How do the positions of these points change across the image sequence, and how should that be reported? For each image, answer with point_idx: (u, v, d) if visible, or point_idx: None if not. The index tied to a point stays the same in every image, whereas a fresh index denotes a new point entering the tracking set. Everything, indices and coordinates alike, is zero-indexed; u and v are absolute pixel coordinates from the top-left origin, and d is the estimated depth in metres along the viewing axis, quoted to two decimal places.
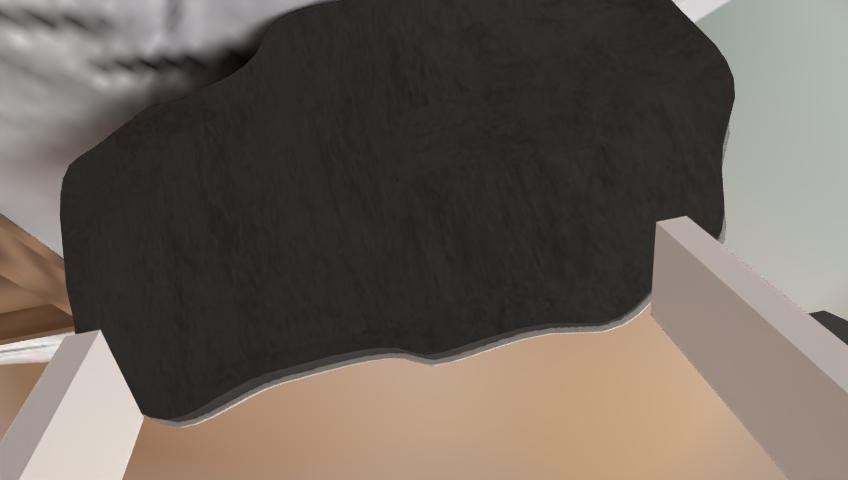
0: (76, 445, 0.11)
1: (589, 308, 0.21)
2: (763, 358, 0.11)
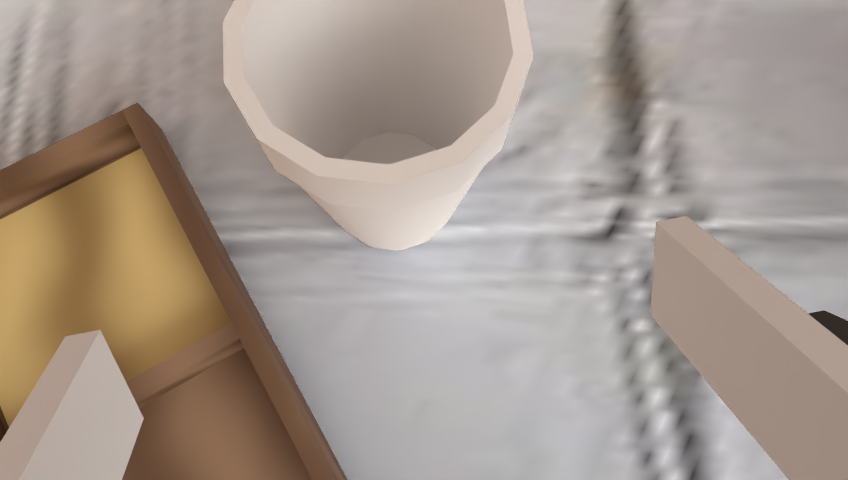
0: (76, 445, 0.11)
1: None
2: (763, 358, 0.11)
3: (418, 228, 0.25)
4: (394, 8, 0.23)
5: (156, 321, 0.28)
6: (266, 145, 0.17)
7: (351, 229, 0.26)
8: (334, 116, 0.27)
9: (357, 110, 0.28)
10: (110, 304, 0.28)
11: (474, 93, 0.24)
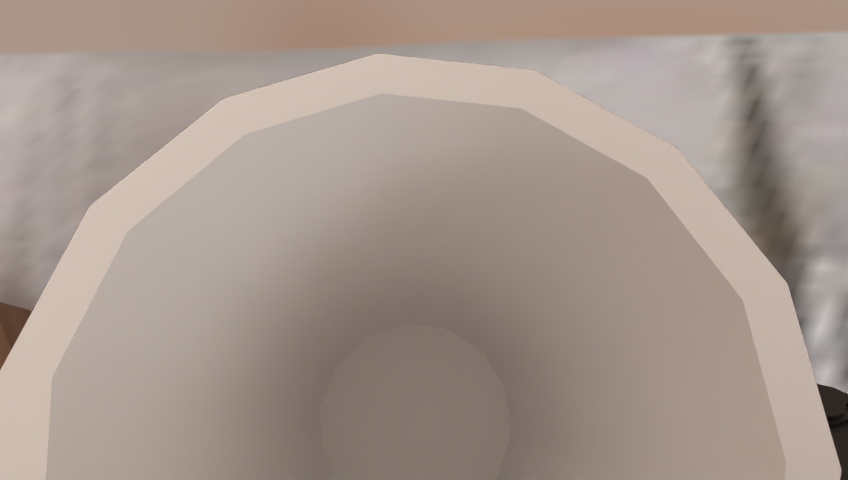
0: None
1: None
2: None
3: None
4: (433, 210, 0.11)
5: None
6: None
7: None
8: (317, 340, 0.16)
9: (357, 316, 0.17)
10: None
11: (586, 359, 0.12)
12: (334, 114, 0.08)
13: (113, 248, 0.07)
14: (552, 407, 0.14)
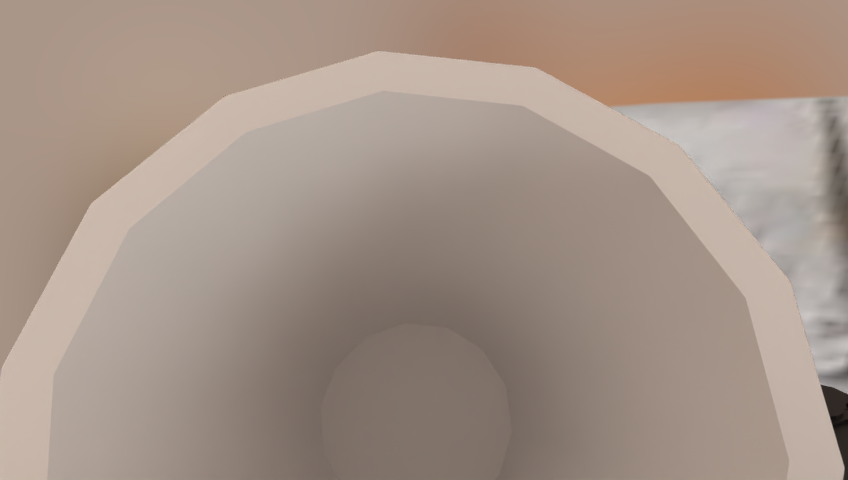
0: None
1: None
2: None
3: None
4: (434, 208, 0.11)
5: None
6: None
7: None
8: (318, 339, 0.16)
9: (357, 315, 0.17)
10: None
11: (587, 357, 0.12)
12: (336, 112, 0.08)
13: (115, 245, 0.07)
14: (552, 406, 0.14)
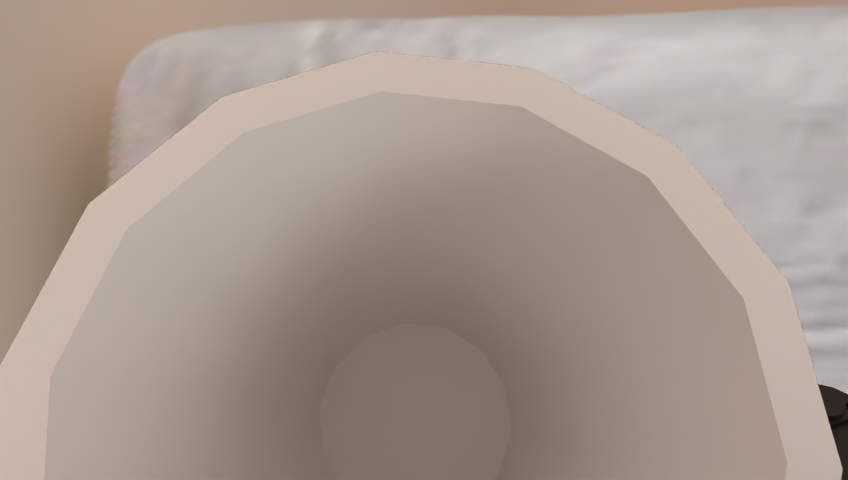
0: None
1: None
2: None
3: None
4: (432, 209, 0.11)
5: None
6: None
7: None
8: (317, 339, 0.16)
9: (356, 316, 0.17)
10: None
11: (586, 358, 0.12)
12: (333, 112, 0.08)
13: (112, 246, 0.07)
14: (551, 407, 0.14)
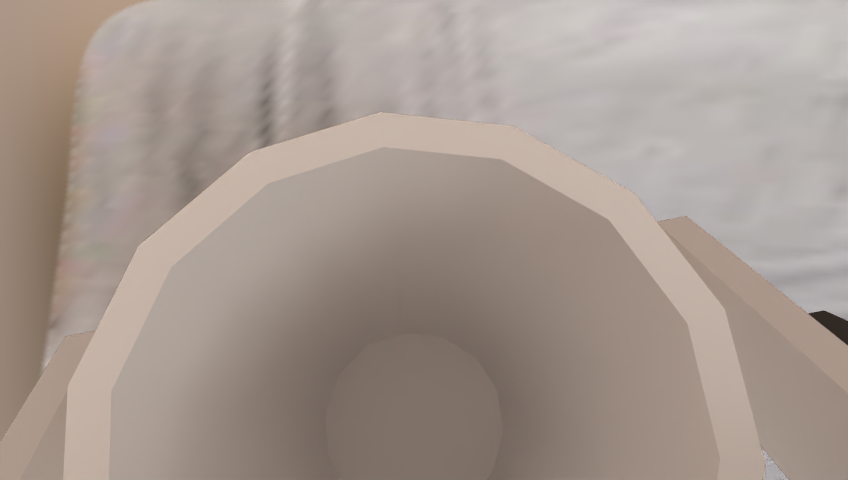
0: None
1: None
2: (763, 358, 0.11)
3: None
4: (428, 237, 0.13)
5: None
6: None
7: None
8: (324, 349, 0.17)
9: (359, 327, 0.18)
10: None
11: (567, 368, 0.14)
12: (343, 164, 0.09)
13: (159, 281, 0.09)
14: (538, 411, 0.16)
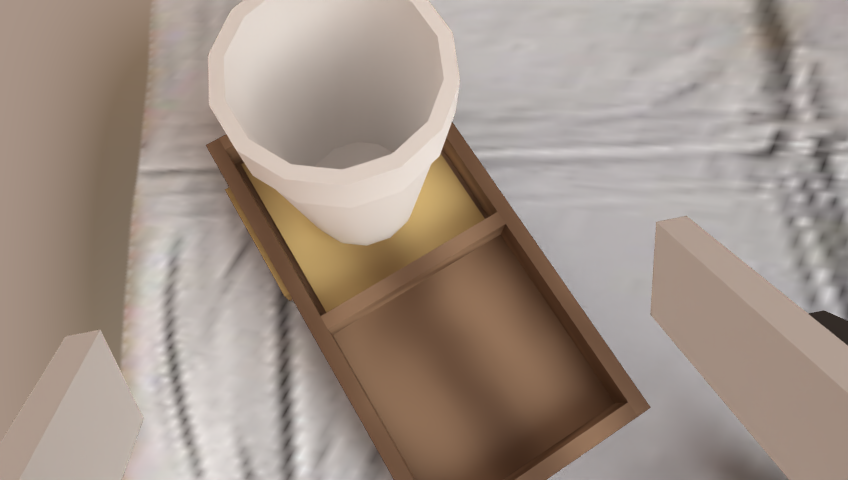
0: (76, 445, 0.11)
1: None
2: (763, 358, 0.11)
3: (378, 224, 0.29)
4: (353, 38, 0.27)
5: (423, 217, 0.35)
6: (243, 155, 0.21)
7: (322, 226, 0.30)
8: (306, 129, 0.31)
9: (327, 123, 0.32)
10: None
11: (423, 109, 0.28)
12: None
13: (239, 22, 0.23)
14: None
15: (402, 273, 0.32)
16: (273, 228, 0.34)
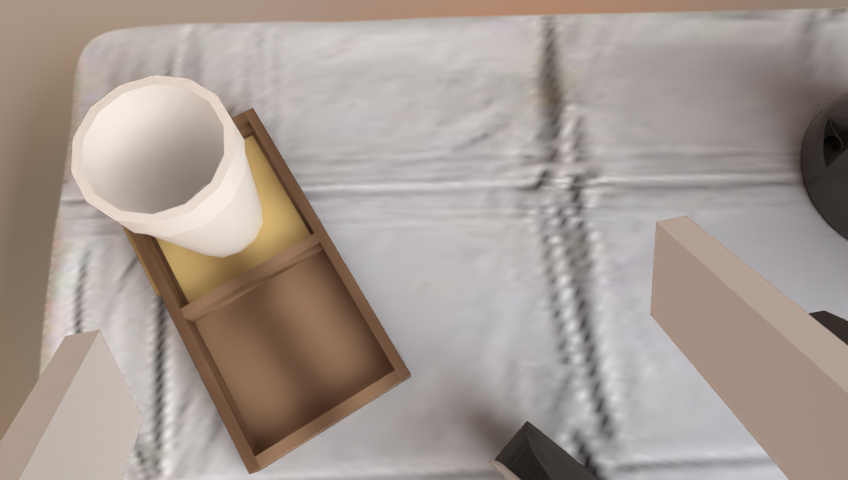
0: (76, 445, 0.11)
1: None
2: (763, 358, 0.11)
3: (215, 243, 0.42)
4: (187, 118, 0.39)
5: (267, 236, 0.47)
6: (91, 204, 0.34)
7: None
8: (172, 174, 0.44)
9: (190, 169, 0.45)
10: None
11: None
12: (144, 88, 0.36)
13: (95, 116, 0.35)
14: None
15: (241, 278, 0.44)
16: (156, 244, 0.47)
